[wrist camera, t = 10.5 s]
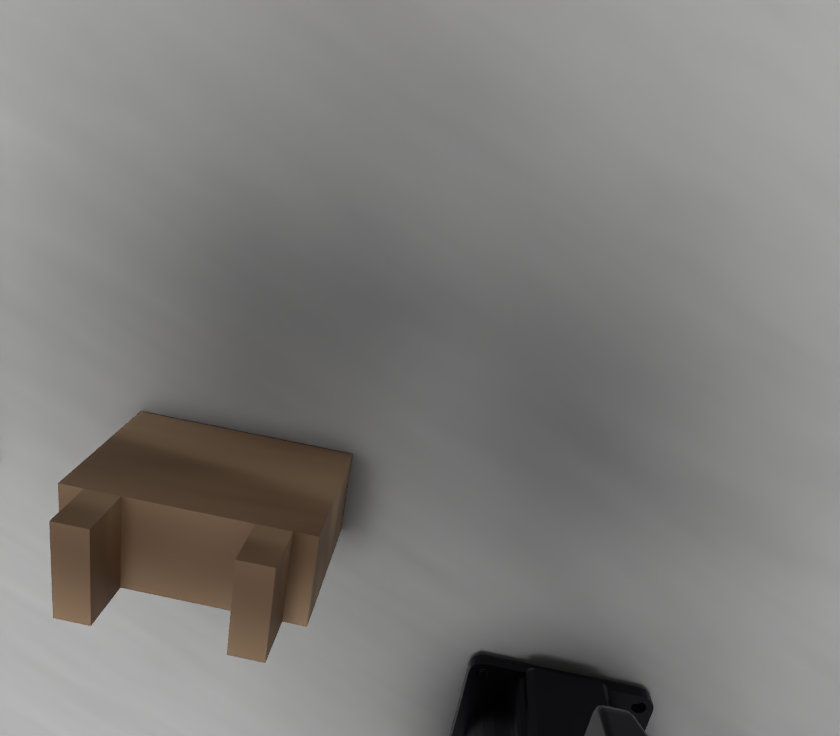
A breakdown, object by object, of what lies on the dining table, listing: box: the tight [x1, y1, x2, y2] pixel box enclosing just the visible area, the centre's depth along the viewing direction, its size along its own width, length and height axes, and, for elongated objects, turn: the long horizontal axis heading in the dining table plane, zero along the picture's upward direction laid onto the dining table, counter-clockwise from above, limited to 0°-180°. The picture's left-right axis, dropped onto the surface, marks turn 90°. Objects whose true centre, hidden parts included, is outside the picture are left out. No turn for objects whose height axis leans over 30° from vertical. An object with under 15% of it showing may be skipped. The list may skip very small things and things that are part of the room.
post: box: [49, 412, 352, 663], centre depth 20 cm, size 3×7×6 cm, turn 80°
